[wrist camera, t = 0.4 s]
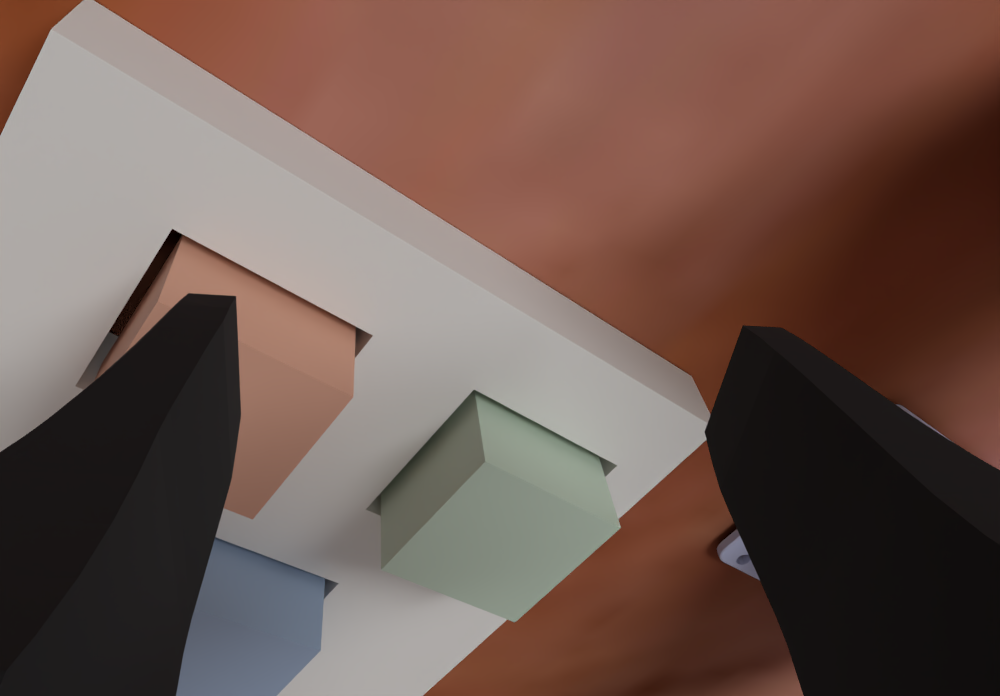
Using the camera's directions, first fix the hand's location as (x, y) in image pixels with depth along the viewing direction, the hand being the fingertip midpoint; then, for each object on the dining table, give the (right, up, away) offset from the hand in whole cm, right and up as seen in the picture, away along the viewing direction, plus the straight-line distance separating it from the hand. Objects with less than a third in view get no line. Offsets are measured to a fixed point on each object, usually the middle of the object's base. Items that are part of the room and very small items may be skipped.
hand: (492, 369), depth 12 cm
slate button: (-8, -7, +13) cm, 17 cm away
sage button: (0, -3, +12) cm, 12 cm away
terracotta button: (-6, 0, +9) cm, 11 cm away
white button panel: (-7, -3, +13) cm, 15 cm away
